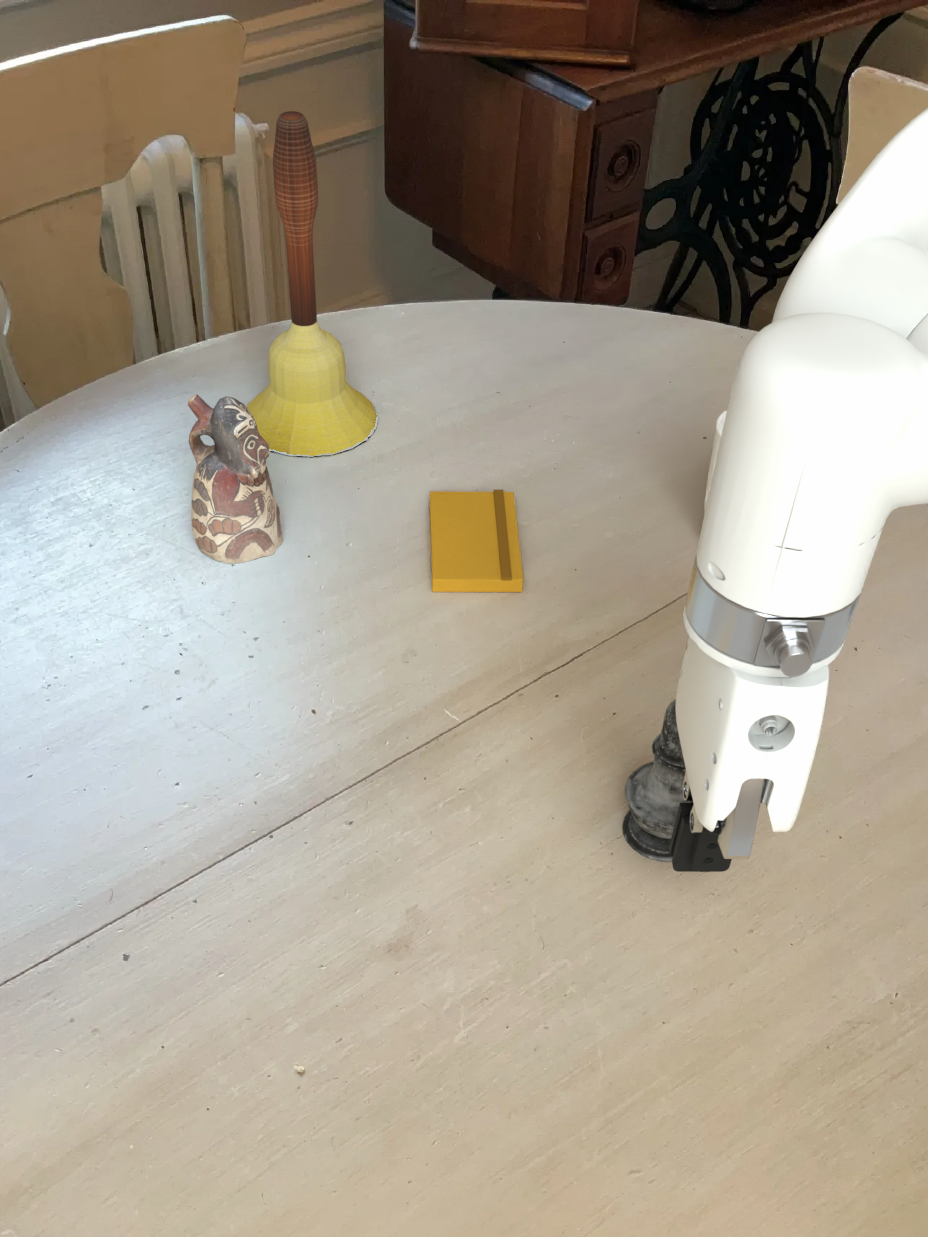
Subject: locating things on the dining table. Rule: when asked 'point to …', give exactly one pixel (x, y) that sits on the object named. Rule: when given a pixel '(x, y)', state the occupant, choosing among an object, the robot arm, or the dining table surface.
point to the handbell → (305, 325)
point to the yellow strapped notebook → (474, 542)
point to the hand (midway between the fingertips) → (698, 860)
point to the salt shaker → (656, 794)
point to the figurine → (231, 485)
